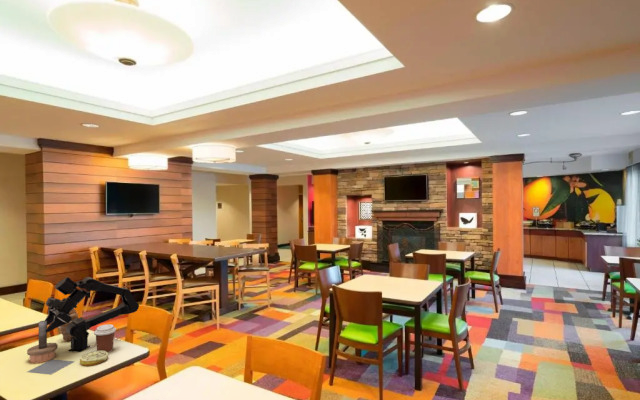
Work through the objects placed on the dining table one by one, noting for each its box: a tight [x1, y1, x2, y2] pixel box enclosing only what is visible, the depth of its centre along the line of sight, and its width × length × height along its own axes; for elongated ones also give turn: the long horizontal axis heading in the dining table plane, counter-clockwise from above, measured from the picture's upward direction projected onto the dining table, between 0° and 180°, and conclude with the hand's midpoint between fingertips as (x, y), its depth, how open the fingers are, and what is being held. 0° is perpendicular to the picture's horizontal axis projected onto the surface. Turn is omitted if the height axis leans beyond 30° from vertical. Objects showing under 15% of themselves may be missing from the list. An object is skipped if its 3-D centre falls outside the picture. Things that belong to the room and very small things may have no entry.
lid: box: [26, 320, 59, 356], centre depth 162 cm, size 11×11×13 cm
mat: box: [26, 358, 75, 375], centre depth 155 cm, size 12×12×1 cm
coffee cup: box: [93, 324, 117, 354], centre depth 171 cm, size 9×9×12 cm
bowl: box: [29, 350, 56, 364], centre depth 162 cm, size 9×9×4 cm
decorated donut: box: [79, 350, 109, 367], centre depth 160 cm, size 10×11×4 cm
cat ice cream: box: [60, 308, 79, 342], centre depth 183 cm, size 9×8×18 cm
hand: (44, 329), depth 163 cm, fingers open, 9 cm apart
